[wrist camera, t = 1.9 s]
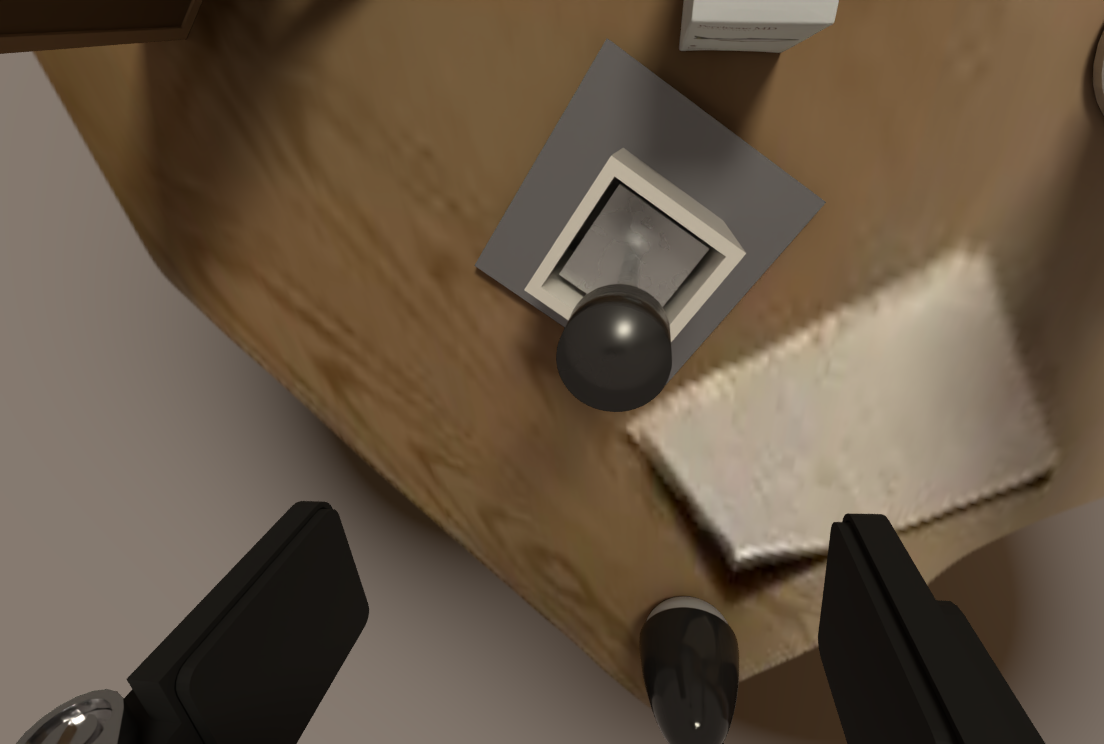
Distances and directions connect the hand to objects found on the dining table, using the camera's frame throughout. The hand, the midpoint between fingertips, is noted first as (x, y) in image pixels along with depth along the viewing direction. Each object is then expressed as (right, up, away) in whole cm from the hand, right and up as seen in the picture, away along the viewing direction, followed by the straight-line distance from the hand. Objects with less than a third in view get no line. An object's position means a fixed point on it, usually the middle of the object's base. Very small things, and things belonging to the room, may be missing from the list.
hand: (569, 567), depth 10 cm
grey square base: (+7, +15, +34) cm, 38 cm away
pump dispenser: (+15, -24, +51) cm, 58 cm away
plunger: (+5, +11, +26) cm, 29 cm away
